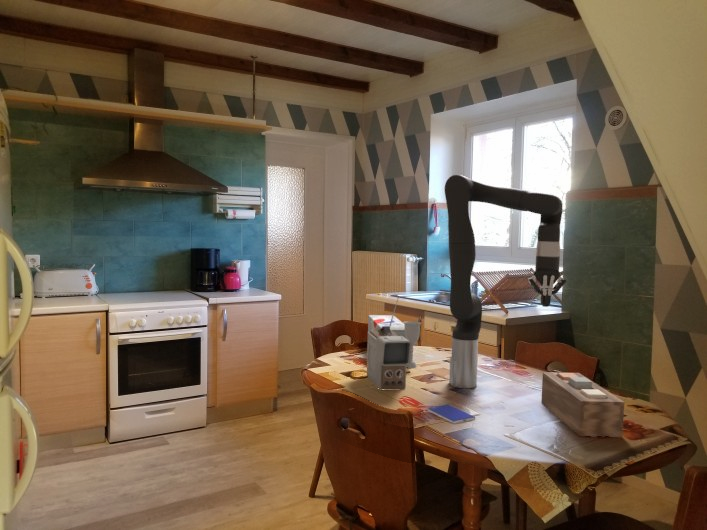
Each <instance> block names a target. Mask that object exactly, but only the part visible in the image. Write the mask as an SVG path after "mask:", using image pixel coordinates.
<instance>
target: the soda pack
mask: <svg viewBox="0 0 707 530" xmlns="http://www.w3.org/2000/svg"><path fill="white" fill-rule="evenodd" d="M392 315H393V314H381V315H380V314H369V315H367V317H368V318H367V319H368V320H367V327H368V328H367V333H368V332H370V331H378V329H381V328H382V327H383V326H390V322H391V319H392ZM390 330H392V331H393V332H395V333H396V334H398V335H399V334H400V336H403V337H404V338H405V334H404V331H405V325H404V321H401V320H400V319H399V318H397V317H396V315H394V316H393V319H392V323H391V326H390Z"/></svg>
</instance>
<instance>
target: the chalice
mask: <svg viewBox="0 0 707 530" xmlns="http://www.w3.org/2000/svg"><path fill="white" fill-rule="evenodd" d="M403 323H404V325H405V331H404V334H405V338H406V339H407V340H409V341H410V342H411V343H412V347H411V357H410V363H409V365H407V366H406V367H408V368H407V369H416V367H417V368H418V365H417V363H416V361H415V360H414V359H413V357H414V353H413V352H414V346H415V345H416V344H417V342H418V340H419V338H420V335H421V331H420V330H421V325H422V322H420V321H413V320H412V321H411V320H409V321H405V320H404V321H403Z"/></svg>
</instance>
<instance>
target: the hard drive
mask: <svg viewBox="0 0 707 530" xmlns="http://www.w3.org/2000/svg"><path fill="white" fill-rule="evenodd" d="M427 411H428V412H429V413H431V414H434V416H435V415H436V416H437V417H439V418H441V419H444V420H446V421H447V422H450V423H452V424H455V425H456V424H460V423H464V422H465V423H466V422H469V421H475V420H476V416H474V415H472V414H470V413H467V412H465V411H463V410H461V409H459V408H458V407H455V406H453V405H451V404H449V403H448V404H441V405H440V404H439V405H435V406H429V407H428V409H427Z"/></svg>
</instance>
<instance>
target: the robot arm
mask: <svg viewBox="0 0 707 530" xmlns="http://www.w3.org/2000/svg"><path fill="white" fill-rule="evenodd" d="M444 195H445V202H446V207H447V208H446V209H447V217H448V218H447V222H448V223H447V224H448V225H447V227H448V228H447V229H448V256H449V270H450V271H449V273H450V292H449V295H450V297H449V310H450V312H451V315H452V317H453V318H454V319H455V320H456V324H455V326H454V328H453V329H452V333H451V334H452V336H451V356H450V357H449V379H448V381H449V384H450V386H451V387H453V388H458V389H459V388H460V389H474V388H476V387H477V383H478V382H477V381H478V357H479V356H478V355H479V353H478V352H479V335H480V332H481V329H482V328H481V327H482V317H483V304H482V301H481V298H480V297H479V296H478V294H475V293H473V292H472V289H471V288H472V287H471V279H472V275H473V274H472V273H473V270H474V265H475V262H476V253H477V252H476V241H475V239H476V238H475V233H474V229H473V226H472V223H471V219H470V213H469V202H476V203H477V202H478V203H479V202H480V203H485V204H491V205H494V206H498V207H502V208H506V209H510V210H515V211H521V212H530V213H533V214H537V215H540V219H539V220H540V222H539V225H538V229H537V243H536V250H535V271H534V272H533V275H532V276H530V277H527V280H526V281H527V282H528V284H529V285H530V287H532V289H533V290H534V292H535V293H537V294H539V295H540V305H541V306H542V307H547V308H548V307H549V306H550V305H551V299H552V295H557V294H558V292H559V291H560V290H561V288H562V287H563V286H564V285H565V284H566V283H567V280H566V279H564V277H562V276H561V273H560V260H561V259H560V256H561V245H560V244H561V243H560V241H561V239H560V238H561V221H562V217H563V215H562V214H563V202H562V200H561V198H560V197H558V196H556V195H554V194H549V193H543V192H542V193H541V192H533V191H529V190H526V189H520V188H514V187H510V186H509V187H508V186H497V185H496V186H495V185H489V184H484V183H482V182H478V181H475V180H473V179H471V178H469V177H467V176H464V175H462V174H453V175H451V176H449V177H448V178H447V180H446V182H445V184H444ZM536 282H538V284H539V286H538V284H537V283H536Z"/></svg>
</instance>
